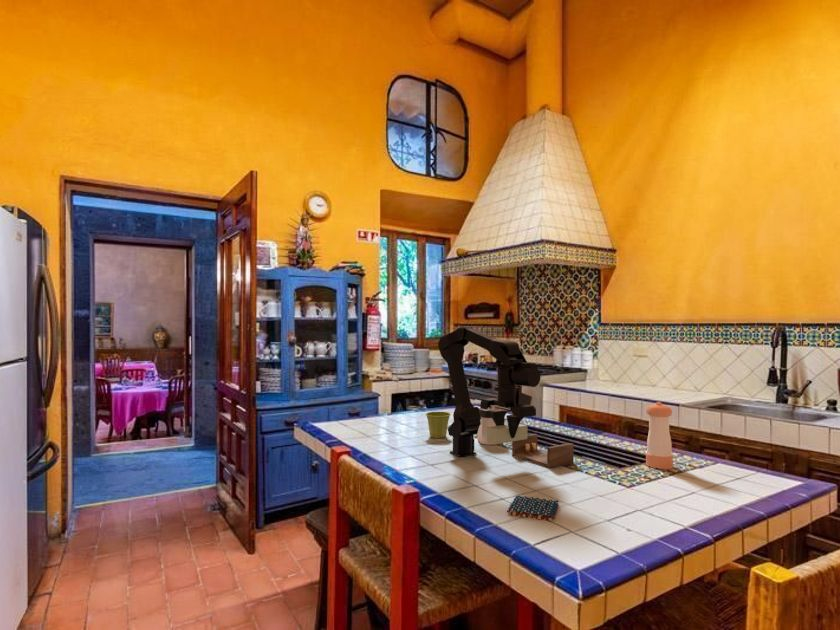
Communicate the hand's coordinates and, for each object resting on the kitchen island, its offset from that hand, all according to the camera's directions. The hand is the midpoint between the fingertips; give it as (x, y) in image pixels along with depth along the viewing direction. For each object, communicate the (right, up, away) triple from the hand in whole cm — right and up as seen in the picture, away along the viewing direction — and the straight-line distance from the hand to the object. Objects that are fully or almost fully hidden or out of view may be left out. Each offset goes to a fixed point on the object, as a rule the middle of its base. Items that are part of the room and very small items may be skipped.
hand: (507, 436), depth 149 cm
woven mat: (0, -9, -34) cm, 35 cm away
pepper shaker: (+46, -10, +2) cm, 47 cm away
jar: (-1, -10, +31) cm, 33 cm away
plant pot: (-19, -10, +40) cm, 45 cm away
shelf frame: (+12, -9, +8) cm, 18 cm away
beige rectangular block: (0, -1, 0) cm, 1 cm away
